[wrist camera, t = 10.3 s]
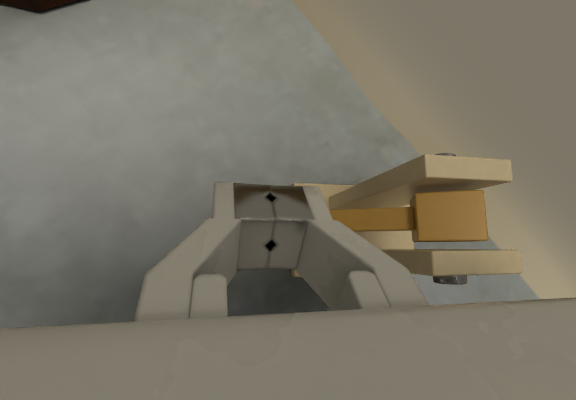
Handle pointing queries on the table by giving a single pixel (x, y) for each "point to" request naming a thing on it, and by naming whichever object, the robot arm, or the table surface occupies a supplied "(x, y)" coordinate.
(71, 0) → the mug
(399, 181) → the bracket
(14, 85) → the table surface
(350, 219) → the lever
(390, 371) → the robot arm
